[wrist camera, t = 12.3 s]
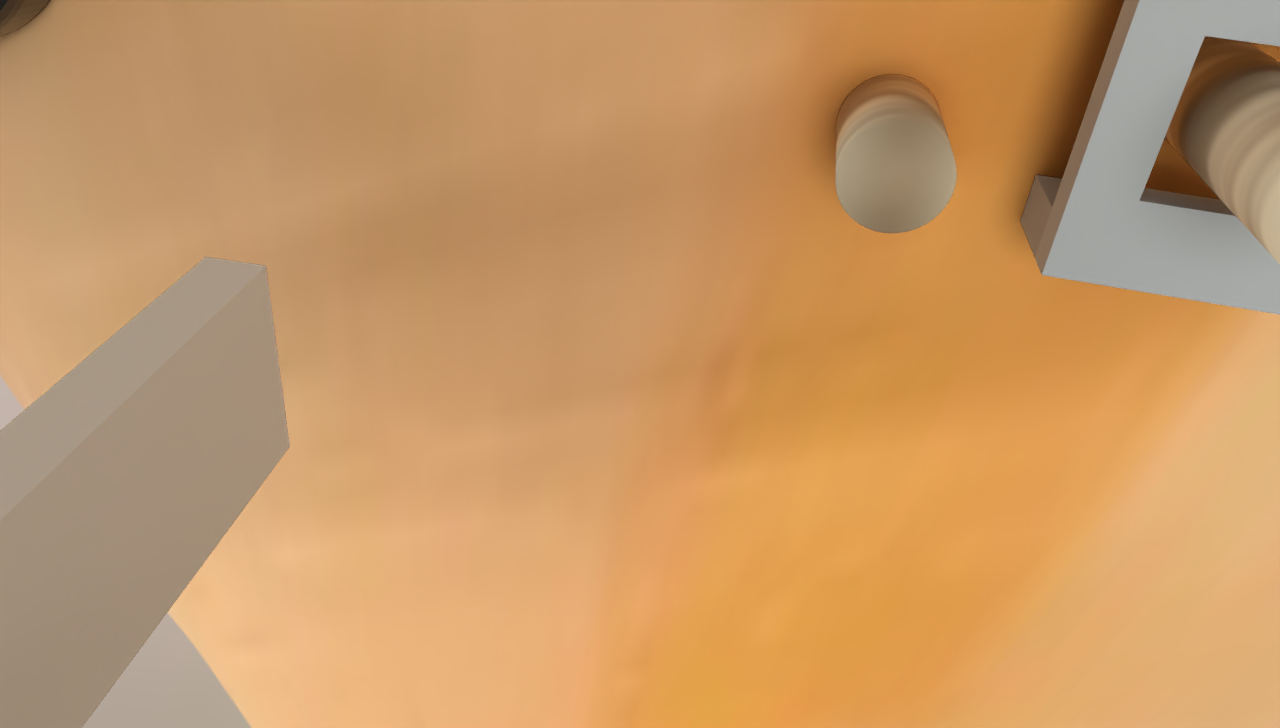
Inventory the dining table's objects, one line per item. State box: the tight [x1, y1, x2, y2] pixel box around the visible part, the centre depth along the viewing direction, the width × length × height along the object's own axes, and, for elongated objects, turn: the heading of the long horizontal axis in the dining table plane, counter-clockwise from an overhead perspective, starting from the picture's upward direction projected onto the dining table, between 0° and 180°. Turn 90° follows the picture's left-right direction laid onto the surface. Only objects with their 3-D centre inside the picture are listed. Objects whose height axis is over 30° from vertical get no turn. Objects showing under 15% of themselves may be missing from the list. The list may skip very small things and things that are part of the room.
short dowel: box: [836, 74, 957, 233], centre depth 36 cm, size 4×4×6 cm
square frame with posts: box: [1020, 0, 1280, 314], centre depth 34 cm, size 10×12×5 cm
